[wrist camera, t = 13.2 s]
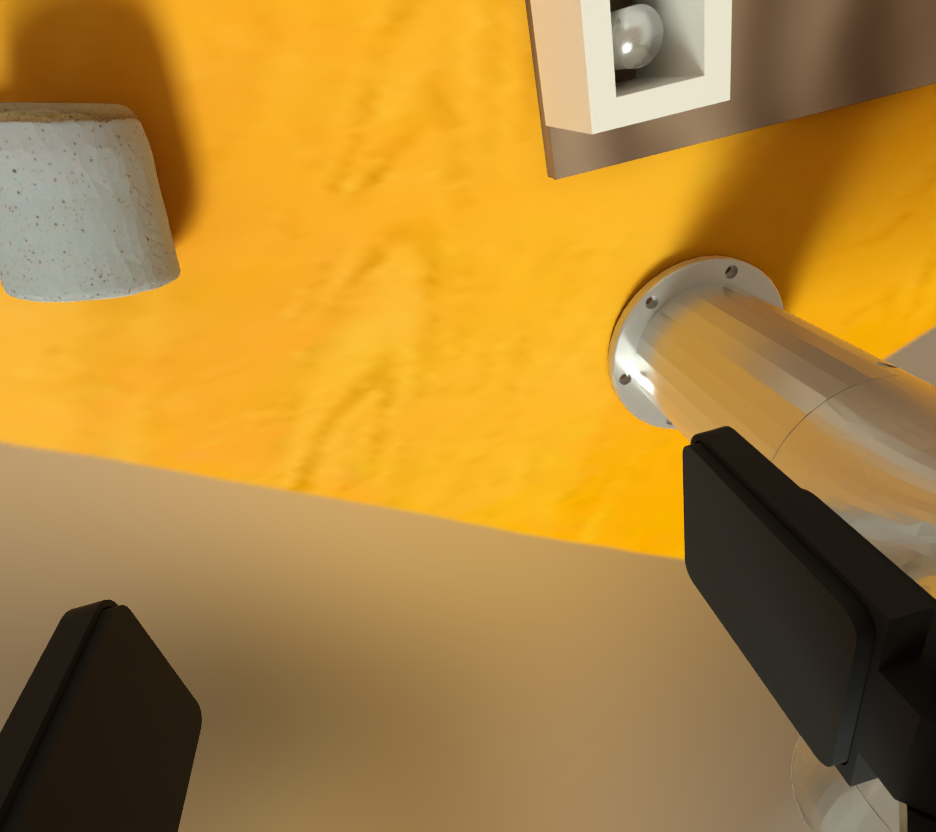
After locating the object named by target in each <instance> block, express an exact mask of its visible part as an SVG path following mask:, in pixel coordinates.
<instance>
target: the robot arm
mask: <svg viewBox="0 0 936 832" xmlns="http://www.w3.org/2000/svg"><path fill="white" fill-rule="evenodd" d="M648 298H649V299H648ZM647 299H648V301H647ZM608 370H609V377H610V380H611V384H612V387H613V389H614V391H615V393H616V395H617V397H618V398H619V400H620V401H621V402H622V403H623V405H624V406H625V407H626V408H627V409H628V411H630V412H631V413H632V414H633V415H634V416H636V417H637V418H638V419H640V420H642V421H644V422H646V423H648V424H649V425H652V426H656V427H660V428H664V429H678V430H679V431H680V432H681V433H682V434H683V435H684V436H685V437H686V438H687V439H688V440H689V441H690V442H691V445H688V446H685V447H684V449H683V494H684V539H685V564H686V568H687V571H688V573H689V576H690V578H691V580H692V581H693V583H694V584H695V586H696V587H697V589H698V590H699V592H700V593H701V594H702V596H703V597H704V599H705V600H706V602H707V603H708V604H709V606H710V607H711V609H712V610H713V611H714V613H715V614H716V616H717V617H718V618H719V620H720V621H721V623H722V624H723V626H724V627H725V629H726V630H727V631H728V633H729V634H730V636H731V637H732V639H733V640H734V641H735V643H736V644H737V645H738V647H739V648H740V650H741V651H742V653H743V654H744V655H745V657H746V659H747V660H748V661H749V663H750V664H751V666H752V667H753V668H754V670H755V671H756V673H757V674H758V676H759V677H760V678H761V680H762V681H763V683H764V684H765V685H766V687H767V688H768V690H769V691H770V693H771V694H772V695H773V697H774V698H775V700H776V701H777V703H778V704H779V705H780V707H781V708H782V710H783V711H784V712H785V714H786V715H787V717H788V718H789V720H790V721H791V723H792V724H793V725H794V727H795V728H796V730H797V731H798V732H799V734H800V737H799V740H798V742H797V744H796V747H795V750H794V754H793V760H792V768H791V774H792V784H793V791H794V795H795V799H796V802H797V804H798V807H799V810H800V812H801V815H802V818H803V820H804V822H805V824H806V826H807V828H808V830H809V832H936V386H934V385H932V384H930V383H927V382H925V381H923V380H921V379H919V378H917V377H915V376H913V375H911V374H909V373H908V372H906V371H904V370H902V369H900V368H898V367H896V366H894V365H891V364H890V363H888V362H886V361H884V360H882V359H880V358H878V357H876V356H874V355H872V354H870V353H868V352H866V351H864V350H862V349H860V348H858V347H856V346H854V345H852V344H850V343H848V342H846V341H844V340H842V339H840V338H838V337H836V336H835V335H833V334H831V333H829V332H827V331H825V330H823V329H821V328H819V327H817V326H815V325H813V324H811V323H809V322H807V321H805V320H803V319H801V318H799V317H797V316H795V315H793V314H791V313H789V312H787V311H785V310H784V306H783V303H782V300H781V297H780V294H779V291H778V290H777V288H776V287H775V285H774V283H773V282H772V280H771V279H770V278H769V277H768V276H767V275H766V274H764V273H763V272H762V271H761V270H760V269H758V268H756V267H754V266H752V265H751V264H749V263H747V262H744V261H741V260H739V259H736V258H733V257H727V256H719V255H713V256H701V257H696V258H693V259H689V260H686V261H682V262H680V263H678V264H676V265H674V266H672V267H670V268H668V269H666V270H664V271H663V272H661V273H660V274H658V275H657V276H656V277H654V278H653V279H651V280H650V281H649V282H648V283H647V284H646V285H645V286H644V287H643V288H642V289H641V290H640V291H638V292H637V293H636V294H635V296H634V297H633V298H632V300H631V301H630V302H629V304H628V305H627V306H626V308H625V309H624V311H623V313H622V314H621V316H620V318H619V320H618V322H617V324H616V326H615V329H614V332H613V335H612V338H611V341H610V346H609V354H608ZM621 375H622V376H621ZM201 723H202V716H201V710H200V707H199V705H198V703H197V701H196V700H195V698H194V697H193V696H192V694H191V693H190V692H189V690H188V689H187V688H186V686H185V685H184V683H183V682H182V681H181V679H180V678H179V676H178V675H177V674H176V672H175V671H174V669H173V668H172V667H171V665H170V664H169V663H168V661H167V660H166V658H165V657H164V656H163V654H162V653H161V652H160V650H159V649H158V648H157V646H156V645H155V643H154V642H153V641H152V639H151V638H150V636H149V635H148V634H147V632H146V631H145V629H144V628H143V627H142V625H141V624H140V623H139V621H138V620H137V619H136V617H135V616H134V614H133V613H132V612H131V610H130V609H129V608H128V607H127V606H124V605H120V606H118V605H117V604H116V603H115V602H114V601H112V600H103V601H100V602H96V603H93V604H89V605H85V606H82V607H78V608H75V609H71V610H69V611H68V612H66V613H65V615H64V616H63V617H62V619H61V620H60V622H59V624H58V626H57V628H56V630H55V632H54V634H53V635H52V637H51V639H50V641H49V643H48V645H47V647H46V649H45V650H44V652H43V654H42V656H41V658H40V660H39V661H38V663H37V665H36V667H35V669H34V671H33V673H32V675H31V677H30V678H29V680H28V682H27V684H26V686H25V688H24V690H23V691H22V693H21V695H20V697H19V699H18V701H17V703H16V705H15V707H14V708H13V710H12V712H11V714H10V716H9V718H8V719H7V721H6V723H5V725H4V727H3V729H2V731H1V733H0V832H178V827H179V823H180V819H181V815H182V810H183V805H184V801H185V797H186V792H187V788H188V784H189V779H190V775H191V770H192V766H193V761H194V757H195V752H196V748H197V744H198V739H199V735H200V730H201Z"/></svg>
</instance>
